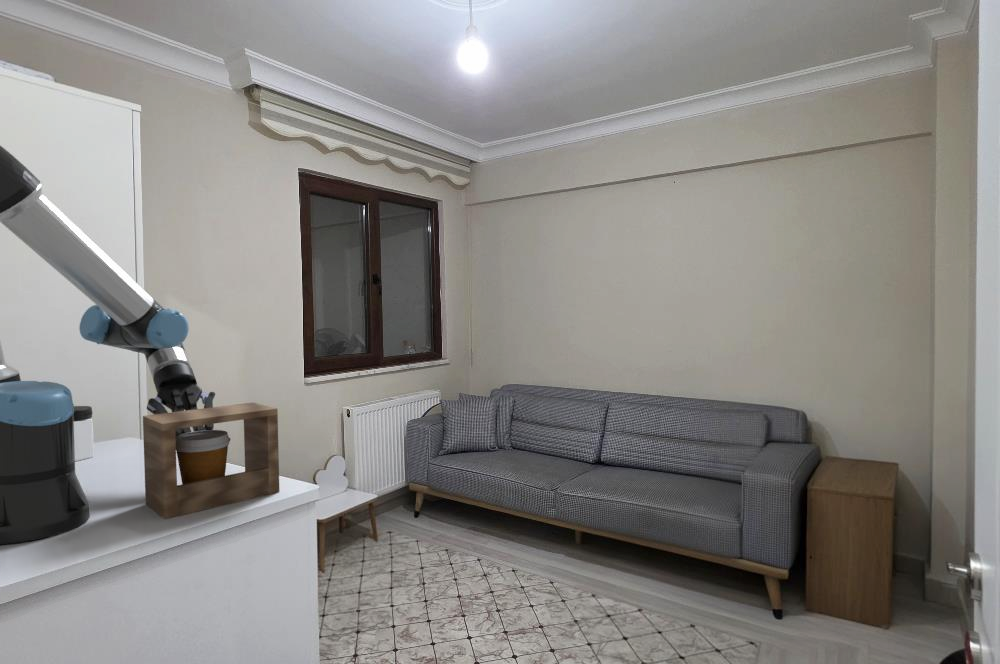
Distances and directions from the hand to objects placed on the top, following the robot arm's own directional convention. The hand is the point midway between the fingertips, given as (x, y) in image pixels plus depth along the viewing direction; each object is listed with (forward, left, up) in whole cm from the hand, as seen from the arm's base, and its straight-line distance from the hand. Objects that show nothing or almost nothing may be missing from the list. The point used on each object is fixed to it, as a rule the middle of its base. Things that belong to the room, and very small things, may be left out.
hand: (204, 464), depth 114 cm
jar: (-12, +51, -5) cm, 53 cm away
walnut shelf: (0, -6, -5) cm, 8 cm away
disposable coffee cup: (-2, -5, -5) cm, 7 cm away
